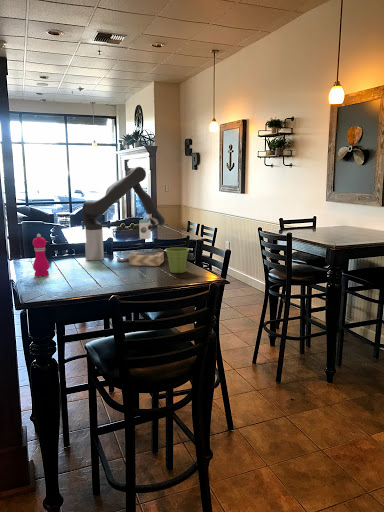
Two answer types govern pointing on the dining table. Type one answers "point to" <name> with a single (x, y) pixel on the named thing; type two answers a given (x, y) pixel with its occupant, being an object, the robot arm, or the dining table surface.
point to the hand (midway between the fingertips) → (143, 228)
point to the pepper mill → (40, 257)
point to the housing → (144, 229)
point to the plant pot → (177, 259)
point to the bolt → (123, 259)
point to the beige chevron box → (146, 258)
